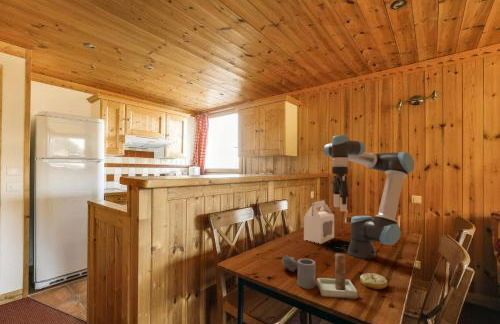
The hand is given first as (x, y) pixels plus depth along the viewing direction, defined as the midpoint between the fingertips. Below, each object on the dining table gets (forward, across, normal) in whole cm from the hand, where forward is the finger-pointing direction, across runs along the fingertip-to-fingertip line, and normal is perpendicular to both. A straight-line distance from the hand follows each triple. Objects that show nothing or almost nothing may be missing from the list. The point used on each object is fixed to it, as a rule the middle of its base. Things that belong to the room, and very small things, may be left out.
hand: (339, 208), depth 121 cm
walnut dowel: (+31, +18, -5) cm, 36 cm away
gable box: (+32, -60, 0) cm, 68 cm away
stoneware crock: (+32, +14, -18) cm, 39 cm away
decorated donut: (+32, +10, +12) cm, 36 cm away
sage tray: (+32, +18, -6) cm, 37 cm away
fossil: (+32, 0, -24) cm, 40 cm away
